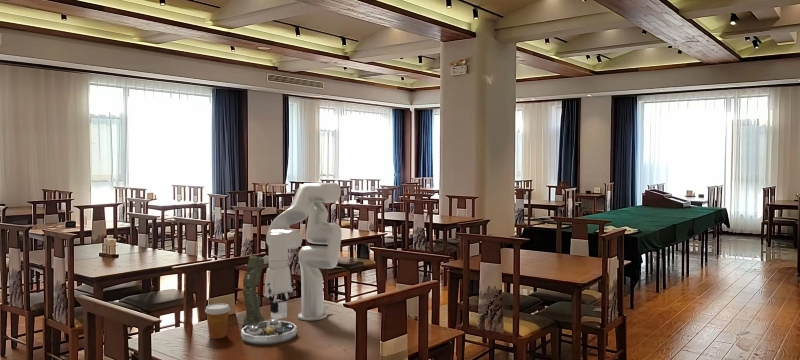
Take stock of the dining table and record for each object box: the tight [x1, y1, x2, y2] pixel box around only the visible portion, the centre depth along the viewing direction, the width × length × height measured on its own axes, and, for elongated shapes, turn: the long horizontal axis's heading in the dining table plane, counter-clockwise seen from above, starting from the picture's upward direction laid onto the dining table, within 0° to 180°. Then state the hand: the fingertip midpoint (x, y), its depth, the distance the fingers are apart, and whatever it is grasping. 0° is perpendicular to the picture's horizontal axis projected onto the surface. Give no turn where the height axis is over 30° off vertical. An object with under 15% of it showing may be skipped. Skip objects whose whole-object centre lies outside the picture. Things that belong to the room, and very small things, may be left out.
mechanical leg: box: [241, 255, 265, 329], centre depth 249 cm, size 14×7×30 cm, turn 168°
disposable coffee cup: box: [204, 303, 231, 339], centre depth 233 cm, size 10×10×12 cm
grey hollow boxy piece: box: [270, 299, 288, 320], centre depth 228 cm, size 6×6×6 cm
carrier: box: [240, 318, 298, 346], centre depth 232 cm, size 21×21×5 cm
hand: (278, 310), depth 228 cm, fingers closed on grey hollow boxy piece, 4 cm apart
